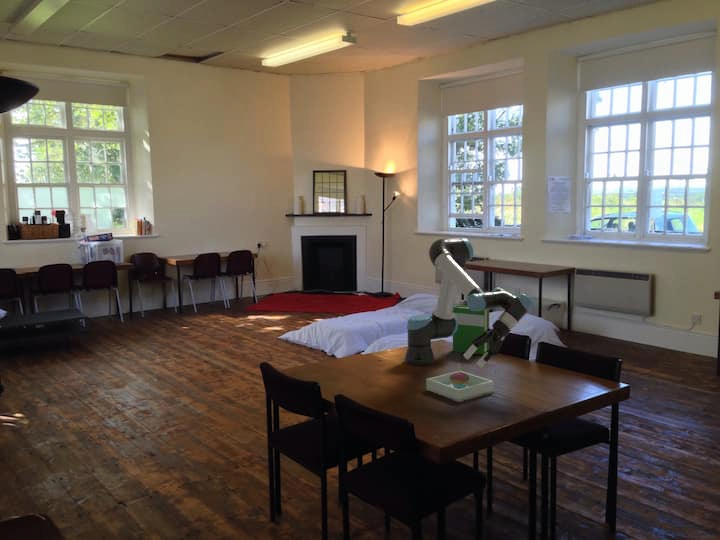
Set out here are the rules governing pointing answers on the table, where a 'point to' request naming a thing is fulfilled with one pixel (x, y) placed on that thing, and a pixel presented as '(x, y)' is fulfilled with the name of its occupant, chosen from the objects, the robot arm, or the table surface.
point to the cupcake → (459, 379)
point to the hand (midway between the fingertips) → (471, 361)
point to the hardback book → (470, 328)
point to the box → (446, 389)
